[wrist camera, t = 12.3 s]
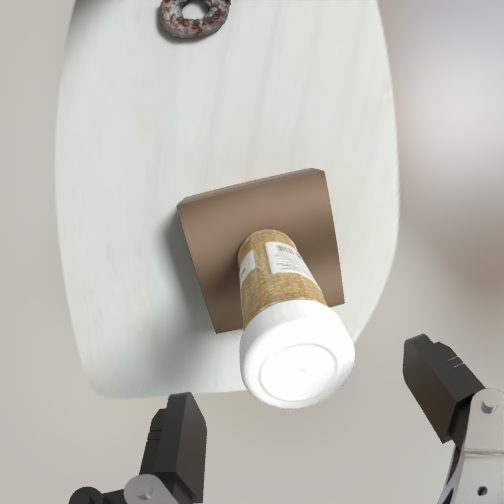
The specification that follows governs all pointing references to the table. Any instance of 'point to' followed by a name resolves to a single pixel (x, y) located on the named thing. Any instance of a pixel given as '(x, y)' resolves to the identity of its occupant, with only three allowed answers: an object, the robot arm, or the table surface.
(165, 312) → the table surface
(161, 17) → the donut
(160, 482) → the robot arm
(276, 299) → the sprinkles bottle
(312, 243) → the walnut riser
